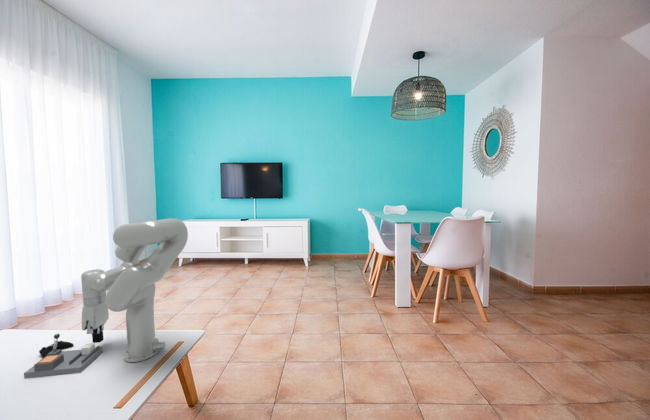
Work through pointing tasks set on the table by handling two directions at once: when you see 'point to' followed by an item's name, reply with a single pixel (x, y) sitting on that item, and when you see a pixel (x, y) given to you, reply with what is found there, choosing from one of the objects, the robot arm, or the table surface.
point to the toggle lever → (55, 341)
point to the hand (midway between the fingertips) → (98, 341)
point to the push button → (49, 359)
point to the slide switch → (87, 348)
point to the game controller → (48, 349)
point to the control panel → (63, 363)
